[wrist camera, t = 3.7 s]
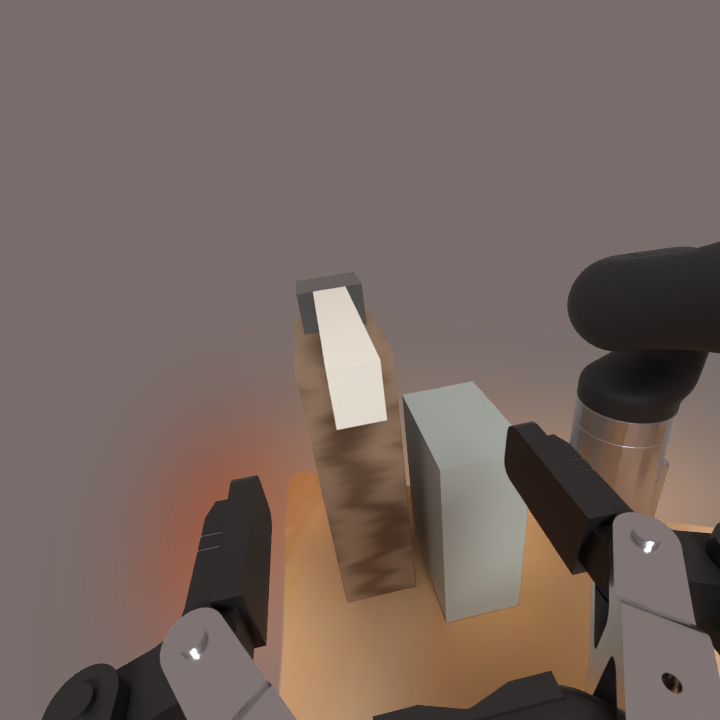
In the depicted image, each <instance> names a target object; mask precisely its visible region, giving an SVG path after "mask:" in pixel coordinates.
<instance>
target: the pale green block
mask: <svg viewBox="0 0 720 720" xmlns="http://www.w3.org/2000/svg"><path fill="white" fill-rule="evenodd" d="M403 407H404V419H405V430H406V440H407V452H408V463H409V475H410V486H411V497H412V508H413V520H414V530H415V533H416V535H417V538H418V541H419V544H420V547H421V550H422V553H423V556H424V559H425V562H426V565H427V568H428V570H429V573H430V576H431V579H432V582H433V585H434V588H435V591H436V594H437V597H438V600H439V603H440V605H441V608H442V611H443V614H444V617H445V620H446V623H448V622H452V621H456V620H460V619H464V618H468V617H472V616H476V615H480V614H484V613H489V612H493V611H497V610H501V609H505V608H509V607H513V606H517V605H519V596H520V586H521V576H522V565H523V555H524V544H525V534H526V523H527V513H528V507H527V505H526V504H525V502H524V501H523V499H522V498H521V496H520V495H519V493H518V492H517V490H516V489H515V487H514V486H513V484H512V483H511V481H510V479H509V478H508V476H507V473H506V470H505V466H504V456H505V447H506V438H507V430H508V427H509V426H512V425H511V424H510V423H509V422H508V421H507V420H506V419H505V417H504V416H503V415H502V414H501V413H500V412H499V411H498V409H497V408H496V407H495V406H494V405H493V404H492V403H491V402H490V400H489V399H488V398H487V397H486V396H485V395H484V394H483V393H482V392H481V390H480V389H479V388H478V387H477V386H476V385H475V384H474V382H468V383H463V384H457V385H452V386H447V387H442V388H437V389H431V390H427V391H421V392H415V393H410V394H406V395H403Z"/></svg>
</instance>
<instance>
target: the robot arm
mask: <svg viewBox="0 0 720 720" xmlns="http://www.w3.org/2000/svg"><path fill="white" fill-rule="evenodd" d="M567 305H568V306H567V307H568V315H569V318H570V320H571V323H572V325H573V327H574V328H575V330H576V331H577V332H578V334H579V335H580V336H581V337H582V338H583V339H585V340H586V341H587V342H588V343H590V344H592V345H593V346H595V347H598V348H601V349H604V350H608V351H612V352H610V353H609V354H607V355H605V356H603V357H601V358H600V359H598V360H596V361H594V362H592V363H590V364H589V365H588V366H586V367H585V368H584V369H583V371H582V372H581V374H580V378H579V382H578V389H577V396H576V403H575V410H574V417H573V424H572V431H571V438H570V444H569V443H567V442H566V441H564V440H562V439H561V438H559V437H557V436H556V435H554V434H553V435H548V436H547V435H546V434H545V432H544V431H543V430H542V429H541V428H540V427H539V426H538V425H537V424H536V423H535V422H528V423H523V424H518V425H512V426H509V427H508V430H507V438H506V447H505V456H504V466H505V470H506V473H507V476H508V478H509V479H510V481H511V483H512V484H513V486H514V487H515V489H516V490H517V492H518V493H519V495H520V496H521V498H522V499H523V501H524V502H525V504H526V505H527V507H528V508H529V510H530V511H531V513H532V514H533V516H534V517H535V519H536V521H537V522H538V524H539V525H540V527H541V528H542V530H543V531H544V533H545V534H546V536H547V537H548V539H549V540H550V542H551V543H552V545H553V546H554V548H555V549H556V551H557V552H558V554H559V555H560V557H561V558H562V560H563V561H564V563H565V564H566V566H567V568H568V569H569V571H570V572H571V574H572V575H574V574H578V573H583V572H588V574H589V575H590V577H591V578H592V580H593V582H592V588H591V633H590V658H589V666H588V671H587V677H586V686H585V692H584V691H581V690H579V689H576V688H572V687H568V686H563V685H558V684H557V682H556V680H555V678H554V676H553V674H552V672H551V671H548V672H545V673H541V674H537V675H533V676H529V677H525V678H521V679H517V680H513V681H510V682H508V683H506V684H505V685H503V686H502V687H500V688H499V689H497V690H496V691H495V692H493V693H492V694H490V695H489V696H487V697H486V698H485V699H483V700H482V701H480V702H479V703H477V704H476V705H474V706H473V707H471V708H468V709H458V708H446V707H435V706H423V705H416V706H412V707H408V708H405V709H401V710H397V711H393V712H389V713H385V714H381V715H377V716H373V720H720V678H719V673H718V668H717V663H716V658H715V654H714V649H713V647H714V648H715V650H716V651H717V652H718V653H719V655H720V523H718V524H717V525H716V527H715V528H714V530H713V532H712V534H711V533H699V532H688V531H677V530H671V529H670V528H669V527H668V526H666V525H665V524H664V523H662V522H661V521H659V520H657V519H655V518H654V514H655V511H656V508H657V504H658V501H659V498H660V494H661V491H662V487H663V485H664V481H665V478H666V475H667V471H668V468H669V462H668V461H667V460H666V459H665V454H666V451H667V448H668V444H669V440H670V437H671V433H672V430H673V426H674V422H675V419H676V416H677V412H678V410H679V406H680V403H681V402H682V400H683V399H684V398H685V397H686V396H688V395H689V394H690V393H691V391H692V390H693V389H694V388H695V386H696V384H697V382H698V380H699V378H700V375H701V372H702V370H703V367H704V364H705V362H706V359H707V357H708V354H709V352H713V353H720V242H717V243H713V244H710V245H706V246H702V247H699V248H694V247H673V248H665V249H658V250H651V251H644V252H636V253H629V254H623V255H615V256H610V257H607V258H604V259H601V260H599V261H597V262H595V263H593V264H591V265H590V266H588V267H587V268H586V269H585V270H584V271H583V272H582V273H581V274H580V275H579V276H578V277H577V279H576V280H575V282H574V284H573V285H572V288H571V290H570V293H569V296H568V304H567ZM271 533H272V521H271V513H270V509H269V506H268V503H267V500H266V497H265V494H264V491H263V488H262V485H261V482H260V480H259V477H258V476H257V475H256V476H251V477H246V478H241V479H236V480H232V481H231V484H230V489H229V495H228V499H227V500H222V501H217V502H215V504H214V505H213V507H212V508H211V510H210V511H209V513H208V515H207V516H206V518H205V522H204V526H203V531H202V538H201V539H200V543H199V548H198V553H197V557H196V561H195V565H194V570H193V574H192V579H191V583H190V587H189V592H188V596H187V601H186V605H185V609H184V612H183V614H182V617H181V618H180V619H179V620H178V621H177V622H176V623H175V624H174V625H173V626H172V628H171V629H170V630H169V632H168V633H167V635H166V637H165V639H164V641H163V642H162V643H160V644H159V645H158V646H157V647H155V648H154V649H152V650H150V651H149V652H147V653H145V654H143V655H142V656H140V657H138V658H136V659H135V660H133V661H131V662H129V663H128V664H126V665H124V666H123V667H121V668H119V669H117V670H115V669H114V668H113V667H112V666H110V665H108V664H95V665H92V666H89V667H87V668H85V669H83V670H81V671H80V672H78V673H77V674H75V675H74V676H73V677H72V678H70V679H69V680H68V681H67V682H66V683H65V684H64V685H63V686H62V687H61V689H59V691H58V692H57V693H56V695H55V696H54V697H53V699H52V700H51V702H50V704H49V705H48V707H47V709H46V711H45V713H44V715H43V718H42V720H296V718H295V717H294V716H293V714H292V713H291V711H290V710H289V708H288V707H287V706H286V704H285V703H284V701H283V700H282V698H281V697H280V696H279V694H278V693H277V692H276V690H275V689H274V687H273V686H272V685H271V684H270V683H269V682H267V680H266V679H265V677H264V676H263V674H262V673H261V672H260V670H259V669H258V667H257V666H256V664H255V663H254V662H253V654H254V648H257V647H262V646H266V639H267V618H268V597H269V576H270V555H271V535H272V534H271Z"/></svg>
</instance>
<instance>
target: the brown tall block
mask: <svg viewBox="0 0 720 720" xmlns="http://www.w3.org/2000/svg"><path fill="white" fill-rule="evenodd" d="M364 309H365V317H366V324H365V325H364V326H365V329H366V331H367V333H368V335H369V337H370V339H371V341H372V343H373V345H374V347H375V350H376V352H377V354H378V356H379V358H380V362H381V370H382V379H383V388H384V397H385V406H386V414H387V420H385V421H380V422H375V423H370V424H365V425H360V426H355V427H350V428H345V429H340V430H337V429H336V423H335V418H334V412H333V407H332V402H331V396H330V391H329V386H328V380H327V375H326V370H325V364H324V357H323V351H322V345H321V339H320V333H313V334H307V335H305V334H304V329H303V324H302V319H296V320H294V371H295V375H296V379H297V384H298V388H299V393H300V397H301V401H302V406H303V410H304V414H305V419H306V423H307V428H308V432H309V436H310V441H311V445H312V450H313V454H314V458H315V463H316V467H317V471H318V476H319V480H320V485H321V489H322V494H323V498H324V502H325V507H326V511H327V515H328V520H329V524H330V529H331V533H332V537H333V542H334V546H335V551H336V555H337V559H338V564H339V568H340V573H341V577H342V581H343V586H344V590H345V594H346V599H347V602H351V601H356V600H360V599H364V598H368V597H373V596H377V595H381V594H385V593H390V592H394V591H398V590H402V589H407V588H411V587H415V586H416V583H415V573H414V562H413V552H412V542H411V531H410V521H409V510H408V500H407V489H406V479H405V469H404V458H403V448H402V438H401V427H400V417H399V407H398V396H397V386H396V375H395V365H394V354H393V350H392V348H391V347H390V345H389V343H388V342H387V340H386V338H385V336H384V334H383V333H382V331H381V329H380V328H379V326H378V324H377V322H376V321H375V319H374V317H373V316H372V314H371V312H370V310H369V309H368V307H366V308H364Z"/></svg>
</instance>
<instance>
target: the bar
mask: <svg viewBox="0 0 720 720" xmlns="http://www.w3.org/2000/svg"><path fill="white" fill-rule="evenodd" d="M296 293H297V294H296V295H297V299H298V304H299V309H300V314H301V319H302V324H303V329H304V334H305V335H307V334H313V333H320V339H321V345H322V351H323V357H324V364H325V370H326V375H327V380H328V386H329V391H330V396H331V402H332V407H333V412H334V418H335V423H336V429H337V430H340V429H345V428H350V427H355V426H360V425H365V424H370V423H375V422H380V421H385V420H387V414H386V406H385V397H384V388H383V379H382V370H381V362H380V358H379V356H378V354H377V352H376V350H375V347H374V345H373V343H372V341H371V339H370V337H369V335H368V333H367V331H366V329H365V326H364V325H365V324H366V317H365V309H364V301H363V293H362V285H361V282H360V281H359V279H358V278H357V276H356V275H355V273H354V272H351V273H345V274H339V275H333V276H326V277H320V278H314V279H308V280H302V281H297V282H296Z"/></svg>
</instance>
